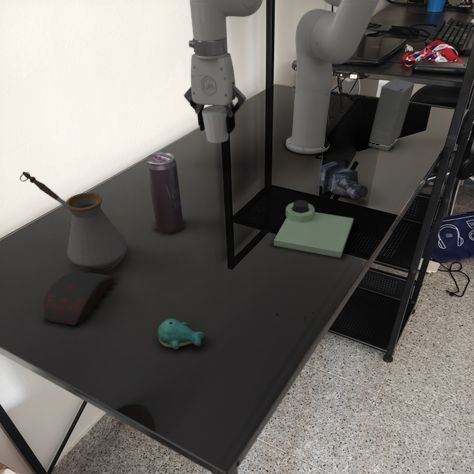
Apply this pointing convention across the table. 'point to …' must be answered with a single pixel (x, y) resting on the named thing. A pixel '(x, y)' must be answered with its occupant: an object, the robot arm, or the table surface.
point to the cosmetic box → (390, 113)
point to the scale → (314, 232)
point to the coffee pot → (89, 231)
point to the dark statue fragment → (341, 181)
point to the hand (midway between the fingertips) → (217, 129)
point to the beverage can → (165, 191)
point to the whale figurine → (178, 334)
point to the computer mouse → (74, 296)
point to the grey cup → (215, 123)
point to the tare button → (300, 206)
